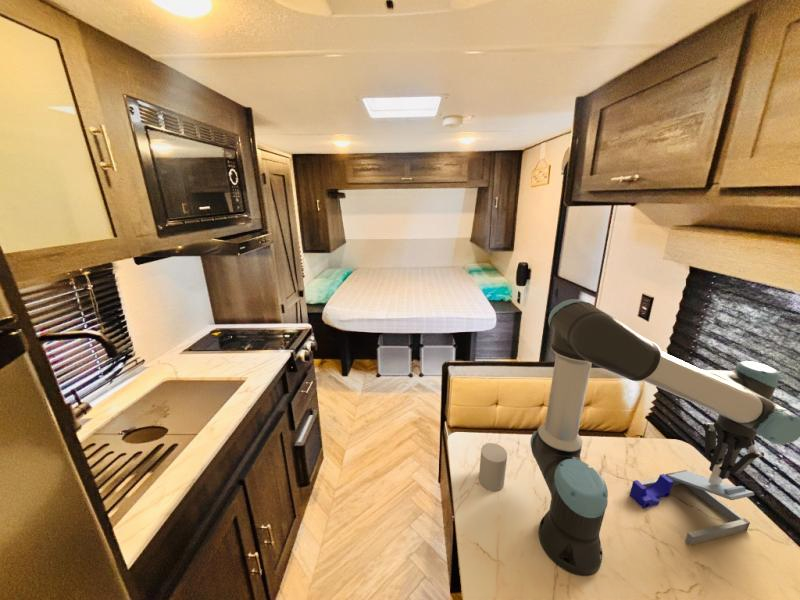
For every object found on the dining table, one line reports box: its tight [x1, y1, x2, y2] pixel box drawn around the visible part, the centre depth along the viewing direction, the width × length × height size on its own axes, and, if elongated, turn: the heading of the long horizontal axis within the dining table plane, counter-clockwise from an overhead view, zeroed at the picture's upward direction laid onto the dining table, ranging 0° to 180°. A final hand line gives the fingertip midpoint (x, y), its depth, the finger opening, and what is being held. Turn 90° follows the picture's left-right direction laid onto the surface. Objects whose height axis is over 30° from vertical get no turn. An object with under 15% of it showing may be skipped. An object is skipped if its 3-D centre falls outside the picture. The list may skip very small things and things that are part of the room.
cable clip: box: [629, 473, 674, 509], centre depth 96 cm, size 12×4×6 cm, turn 103°
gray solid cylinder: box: [478, 442, 508, 493], centre depth 101 cm, size 8×8×12 cm
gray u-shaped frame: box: [639, 477, 751, 546], centre depth 93 cm, size 20×17×3 cm
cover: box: [664, 469, 755, 501], centre depth 93 cm, size 8×18×2 cm, turn 11°
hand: (714, 482), depth 91 cm, fingers closed
